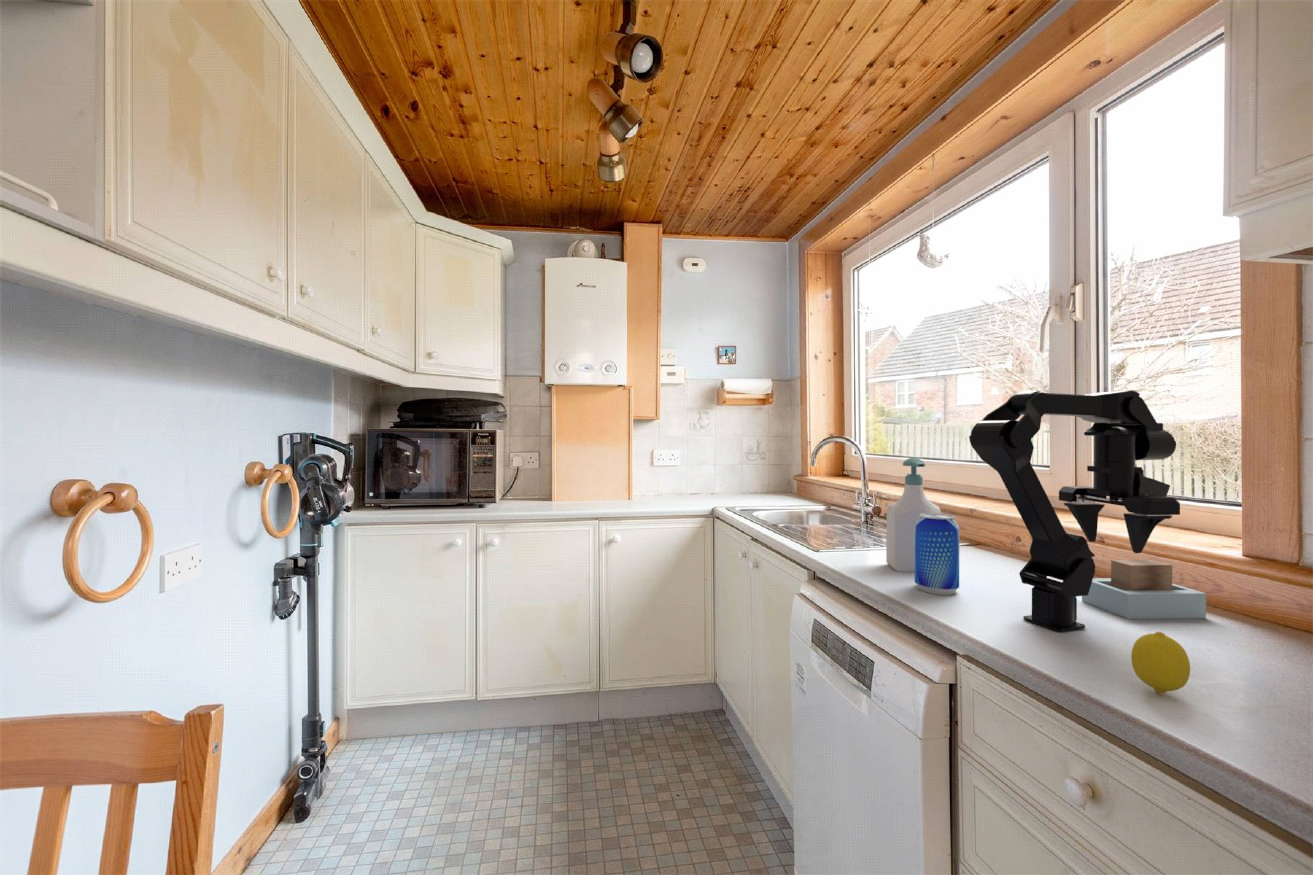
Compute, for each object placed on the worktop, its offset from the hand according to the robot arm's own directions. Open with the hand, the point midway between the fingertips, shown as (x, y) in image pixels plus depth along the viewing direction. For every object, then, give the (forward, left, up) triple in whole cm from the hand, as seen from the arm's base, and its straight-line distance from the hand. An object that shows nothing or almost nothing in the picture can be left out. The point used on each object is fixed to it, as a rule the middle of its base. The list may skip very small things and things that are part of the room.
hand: (1113, 546), depth 95 cm
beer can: (-17, +23, -13) cm, 32 cm away
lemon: (-24, -21, -13) cm, 35 cm away
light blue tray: (+10, +2, -13) cm, 17 cm away
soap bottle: (-9, +38, -13) cm, 41 cm away
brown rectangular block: (+10, +2, -13) cm, 17 cm away
